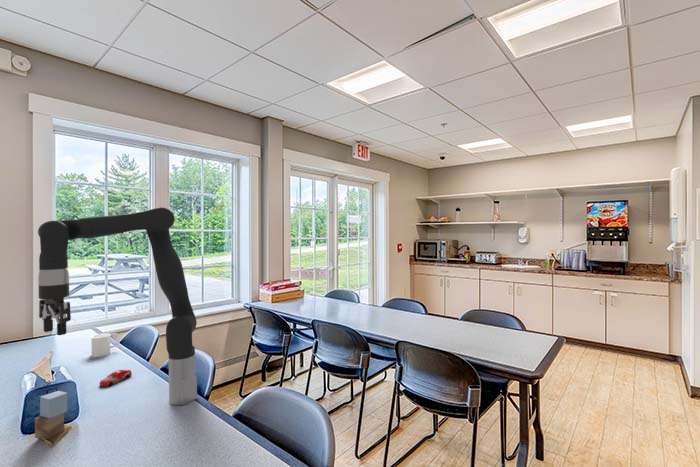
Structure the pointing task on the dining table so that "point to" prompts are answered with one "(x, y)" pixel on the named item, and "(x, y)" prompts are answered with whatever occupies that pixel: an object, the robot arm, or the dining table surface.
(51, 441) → the shard
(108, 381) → the race car
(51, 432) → the walnut block
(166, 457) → the dining table surface
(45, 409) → the slate block
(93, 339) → the cup
